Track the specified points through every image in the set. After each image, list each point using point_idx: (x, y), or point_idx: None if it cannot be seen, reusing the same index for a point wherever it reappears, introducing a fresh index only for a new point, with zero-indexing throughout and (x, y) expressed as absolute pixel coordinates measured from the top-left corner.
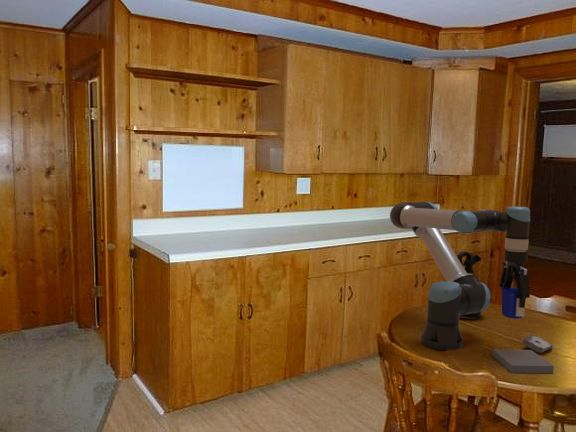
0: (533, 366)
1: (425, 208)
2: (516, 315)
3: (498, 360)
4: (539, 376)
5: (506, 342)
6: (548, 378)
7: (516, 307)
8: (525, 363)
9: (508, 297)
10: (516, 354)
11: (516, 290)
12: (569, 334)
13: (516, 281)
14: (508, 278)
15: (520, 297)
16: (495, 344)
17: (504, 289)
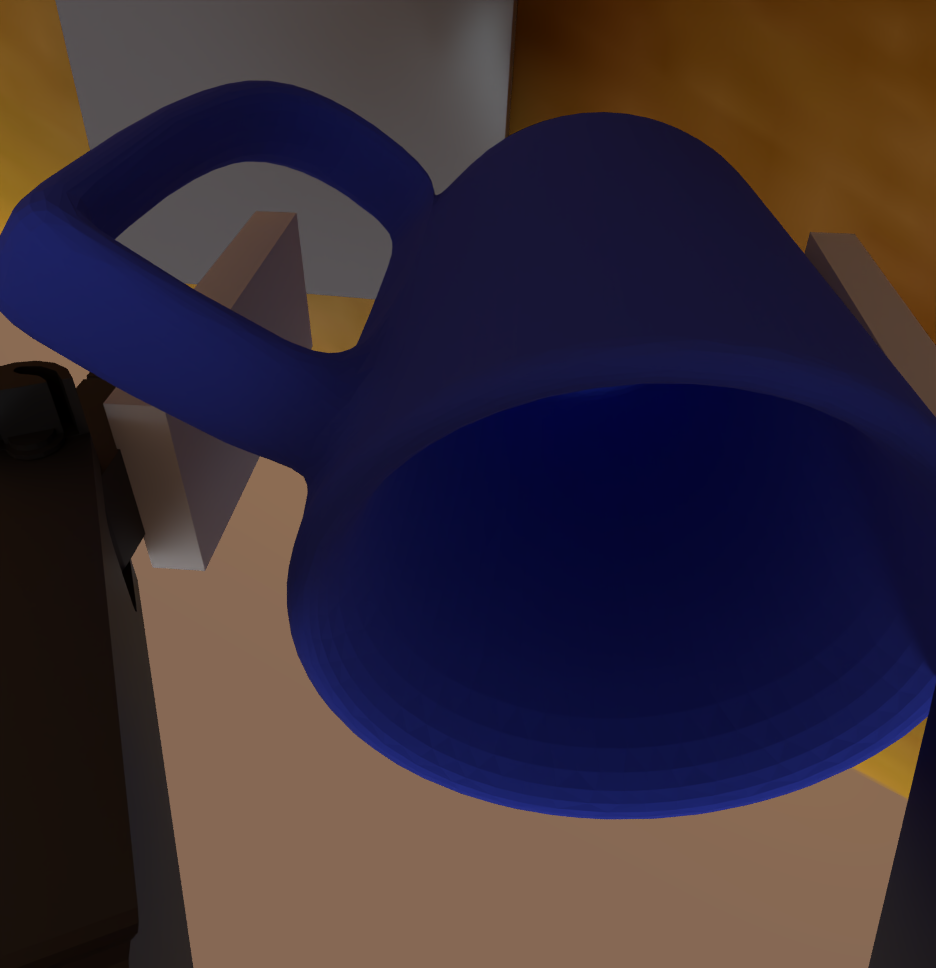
0: (77, 81)
1: None
2: (259, 217)
3: None
4: (47, 87)
5: (889, 251)
6: (27, 148)
7: (230, 284)
8: (114, 25)
9: (447, 301)
10: (362, 69)
11: (796, 722)
12: (889, 778)
13: (18, 859)
14: (928, 926)
15: (2, 446)
16: (872, 86)
17: (627, 365)
